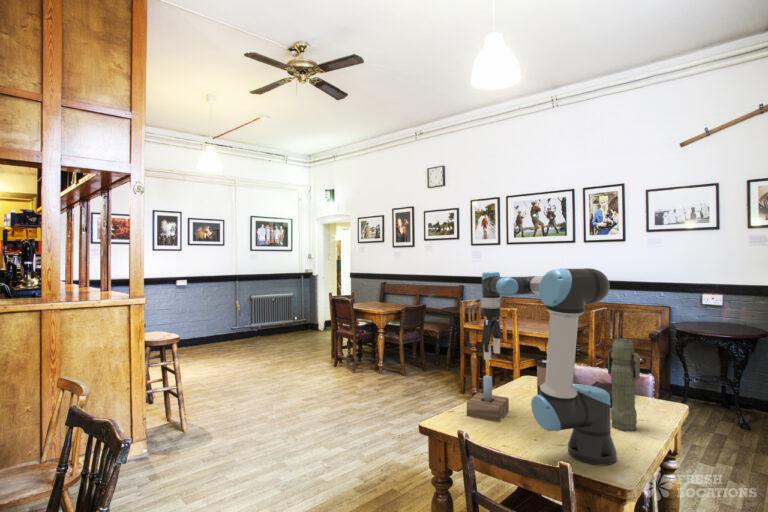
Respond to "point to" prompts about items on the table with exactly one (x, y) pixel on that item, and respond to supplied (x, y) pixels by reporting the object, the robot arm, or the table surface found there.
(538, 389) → the travel mug
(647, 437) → the table surface
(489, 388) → the dowel pin
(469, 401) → the bore block
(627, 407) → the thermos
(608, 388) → the diary
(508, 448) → the table surface
